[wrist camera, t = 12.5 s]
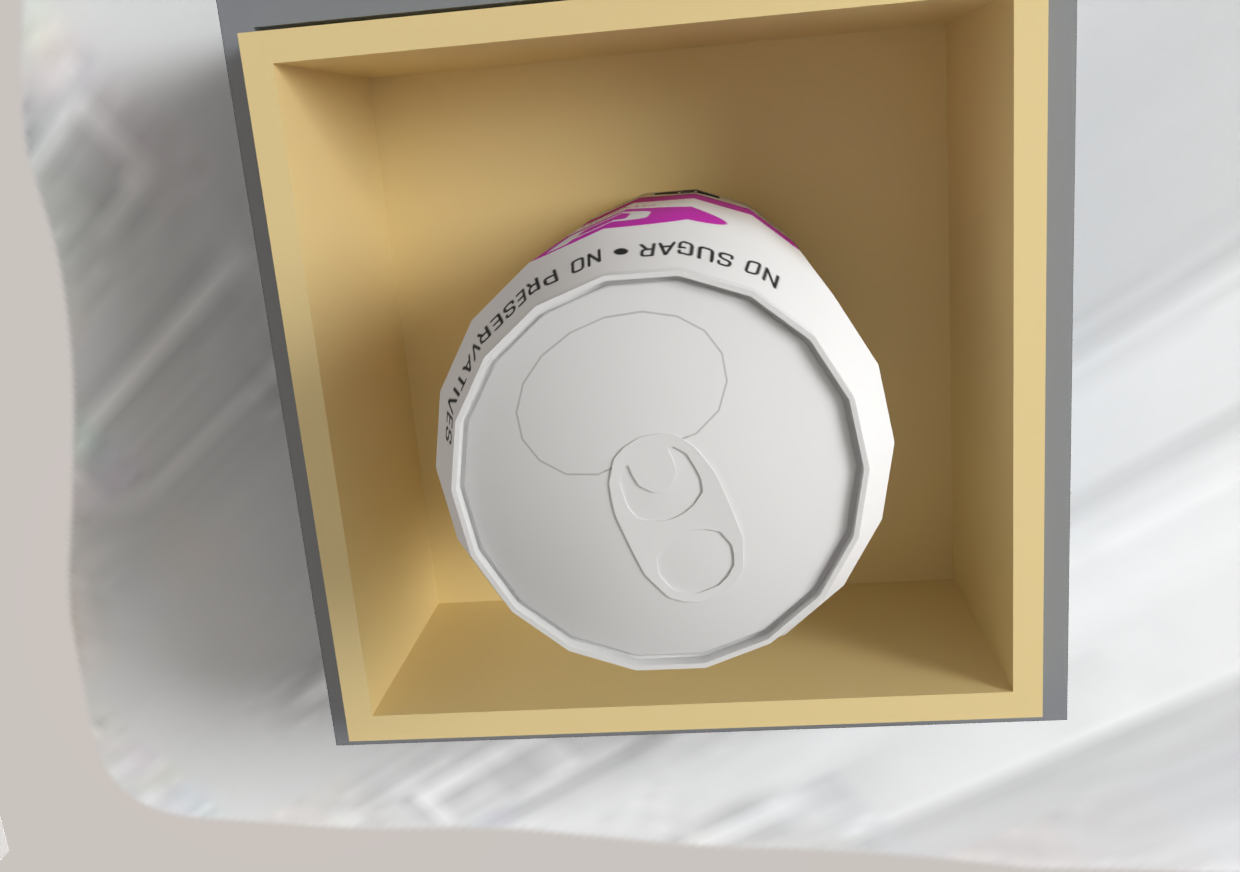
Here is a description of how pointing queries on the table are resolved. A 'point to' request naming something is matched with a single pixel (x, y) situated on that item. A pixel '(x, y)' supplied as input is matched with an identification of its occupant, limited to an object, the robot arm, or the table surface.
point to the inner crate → (598, 181)
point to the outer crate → (298, 3)
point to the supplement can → (665, 436)
